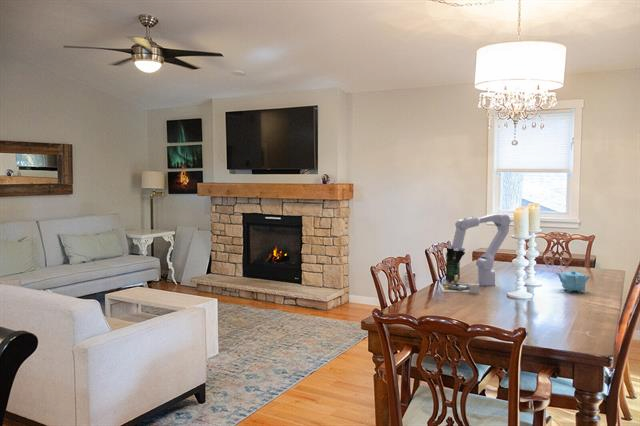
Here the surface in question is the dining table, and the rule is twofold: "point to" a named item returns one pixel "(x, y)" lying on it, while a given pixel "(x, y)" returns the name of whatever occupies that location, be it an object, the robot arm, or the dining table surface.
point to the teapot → (573, 281)
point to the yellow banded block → (473, 288)
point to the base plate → (452, 289)
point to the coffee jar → (452, 268)
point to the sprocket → (456, 285)
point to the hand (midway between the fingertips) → (453, 261)
